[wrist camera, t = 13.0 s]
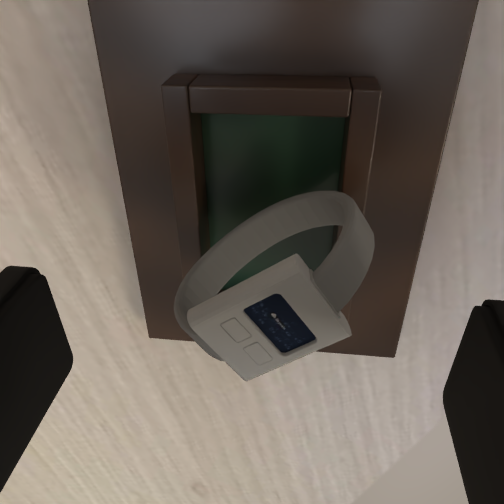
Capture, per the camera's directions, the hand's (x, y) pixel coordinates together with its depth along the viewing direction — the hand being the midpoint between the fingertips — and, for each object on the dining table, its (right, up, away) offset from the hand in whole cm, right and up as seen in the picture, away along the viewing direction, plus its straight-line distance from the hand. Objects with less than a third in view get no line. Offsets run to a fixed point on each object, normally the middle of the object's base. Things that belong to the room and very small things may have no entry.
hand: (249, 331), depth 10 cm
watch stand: (+1, +4, +7) cm, 8 cm away
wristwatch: (+1, +3, +5) cm, 6 cm away
